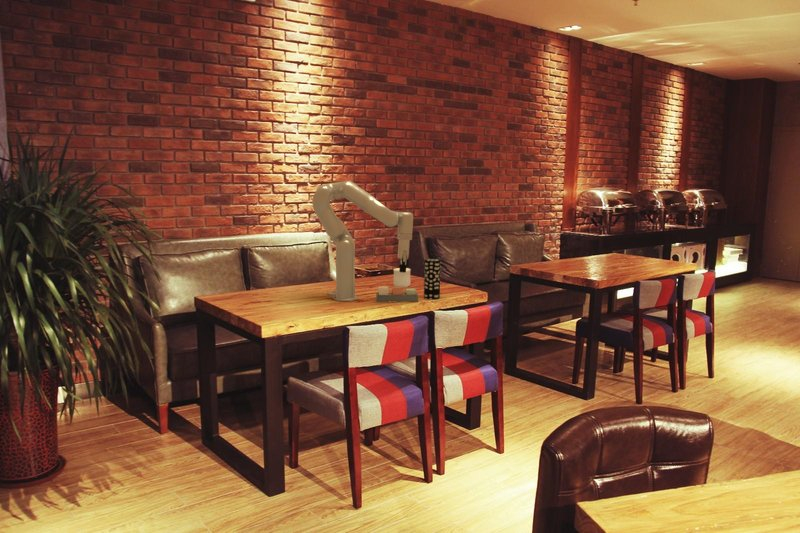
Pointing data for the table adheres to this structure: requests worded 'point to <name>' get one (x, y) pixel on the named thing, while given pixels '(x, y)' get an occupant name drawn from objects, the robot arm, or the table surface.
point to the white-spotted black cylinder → (432, 278)
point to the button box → (396, 297)
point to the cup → (401, 278)
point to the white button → (382, 290)
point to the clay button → (396, 290)
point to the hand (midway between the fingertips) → (402, 271)
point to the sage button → (410, 291)
